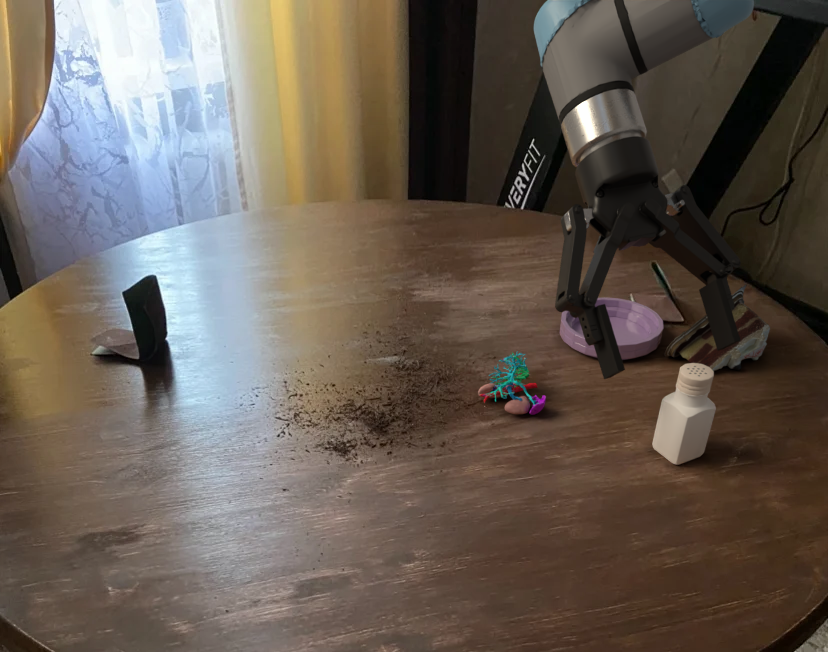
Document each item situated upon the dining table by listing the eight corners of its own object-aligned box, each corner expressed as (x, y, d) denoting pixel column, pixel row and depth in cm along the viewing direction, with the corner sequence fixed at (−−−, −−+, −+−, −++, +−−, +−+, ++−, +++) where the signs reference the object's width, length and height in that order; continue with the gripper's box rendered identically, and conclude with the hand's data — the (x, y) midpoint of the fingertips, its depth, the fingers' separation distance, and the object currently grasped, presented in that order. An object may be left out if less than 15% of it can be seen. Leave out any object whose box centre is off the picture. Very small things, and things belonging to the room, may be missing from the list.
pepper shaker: (675, 468, 84) (695, 386, 77) (648, 448, 86) (666, 366, 80) (705, 457, 85) (727, 375, 79) (678, 437, 88) (698, 356, 81)
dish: (657, 319, 107) (661, 301, 106) (661, 368, 98) (665, 348, 97) (561, 312, 109) (563, 294, 107) (556, 359, 100) (558, 340, 98)
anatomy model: (497, 394, 86) (554, 372, 87) (461, 359, 91) (515, 339, 93) (500, 435, 89) (555, 412, 91) (465, 399, 95) (517, 378, 96)
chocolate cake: (703, 390, 95) (787, 310, 92) (660, 350, 98) (741, 271, 95) (715, 409, 104) (794, 337, 100) (676, 372, 106) (751, 301, 103)
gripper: (691, 156, 90) (749, 346, 89) (483, 191, 82) (545, 397, 82) (736, 116, 83) (799, 322, 82) (513, 150, 75) (582, 376, 75)
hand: (673, 360), depth 82 cm, fingers open, 13 cm apart
